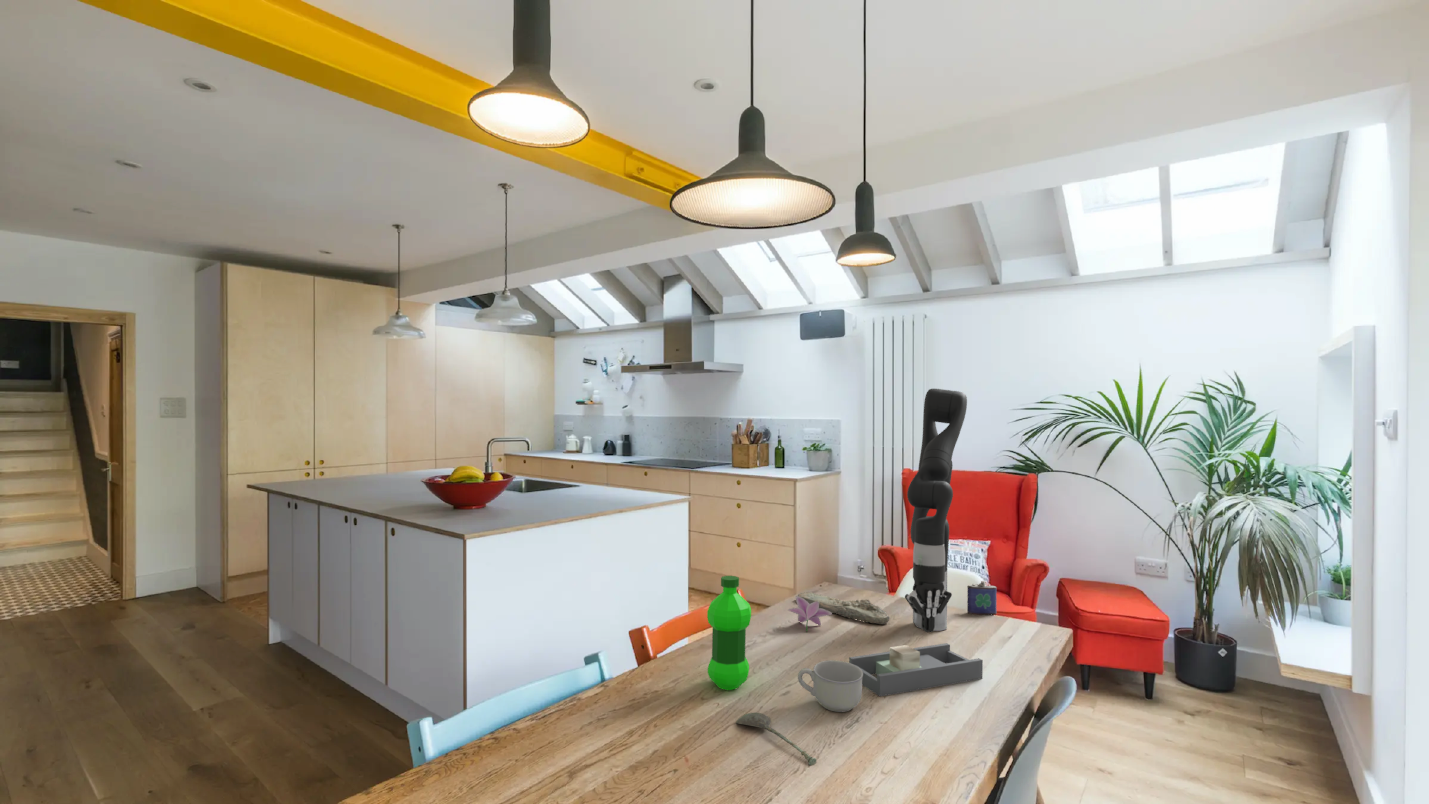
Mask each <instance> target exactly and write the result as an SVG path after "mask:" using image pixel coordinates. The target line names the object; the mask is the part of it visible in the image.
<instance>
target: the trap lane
mask: <svg viewBox="0 0 1429 804" xmlns="http://www.w3.org/2000/svg"><path fill="white" fill-rule="evenodd" d="M912 648H913V649H915V650H917V651H919V652H920V668H915V669H909V670H902V671H901V670H899V669H897V668H896V667H894V666H892V665H891V664H890V651H883V652H875V653H870V654H863V655H858V656H856V655H855V656H849V657H848V663H851V664H853V665H855V666H857V667H859V668H860V669H861V670H862V672H863V677H862V687H865V688H866V689H868V690H870V691H871V692H872V693H874V694H875V695H877V696H879V697H884V696H886V697H887V696H890V695H898V694H903V693H907V692H914V691H920V690H926V689H930V688H937V687H942V686H947V685H954V684H961V683H964V682H970V681H976V680H982V679H983V666H984V665H983V659H981V658H978V657H977V658H972V659H969V658H966V657H964V656H962V655H961V654H958V653H955V652H954V651H952V650H951V644H949V643H938V644H931V645H925V646H919V647H912ZM874 675H876V677H875V676H874Z"/></svg>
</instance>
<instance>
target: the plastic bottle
mask: <svg viewBox="0 0 1429 804" xmlns="http://www.w3.org/2000/svg"><path fill="white" fill-rule="evenodd" d="M720 586H721V587H723V588H722V589H723V590H722V592H721V593H720V594H718V595H717V596H716V597H715V598H714V599H713V600H712V601H711V602H710V603H709V606H708V609H707V611H706V613H707V616H706V617H707V622H708V624H709V625H710V626H711V627H712V634H711V635H712V643H711V645H712V647H711V649H712V650H711V658H710V661H709V662H708V667H707V675H708V677H709V679H710V681H711V682H713V683H714V684H715V685H716V686H717V688H719V689H720V690H724V689H725V691H734V690H737V689H738V688H739V687H740V686H742V685H743V684H744V683H745V682H746V681H747V678H748V676H749V674H750V673H749V671H750V664H749V661H748V659H747V656H746V641H747V640H746V637H747V636H746V635H747V633H746V630H747V627H749V626H750V623H751V618H752V607H751V604H750V603H749V602H748V601H747V600H746V599H745V598H744V597H743V596H742V595H741V594H739V593H738V592H737V588H738V587H739V586H740V578H739V576H736V575H724V576H721V577H720ZM733 689H734V690H733Z"/></svg>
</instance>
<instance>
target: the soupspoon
mask: <svg viewBox="0 0 1429 804" xmlns="http://www.w3.org/2000/svg"><path fill="white" fill-rule="evenodd" d="M771 723H772V721H771V717H769V715H767V714H765V713H763V712H749V713H746V714H743V715H742V716H740V717H739V718H738V719H737V720H736V721H735V724H738V725H739V724H740V725H746V726H751V727H756V728H761V729H765V730H767V731H768V732H771V733H773V734H774V735H775V736H777V737H778V738H780V739H781V740H783V741H784V742H786V743H787V744H789V745H790V746H792V747H793V748H794V749H795V750H797V751H798V752H799V753H800V754H801V756H803V757H804V759H805V760H806V761H807V763H808V766H812V765H815V764H816V763H817V761H818V760H817V758H816V757H812V756H811V755H809V754H808V753H807V752H806V751H805V750H803V749H802V748H800V747H799V746H798V745H797V744H796V743H794V742H793V741H792V740H790V739H789V738H788V737H786V736H785V735H783V734H781V732H779V731H777V730H776V729H774V728H772V726H771V727H770V725H771Z"/></svg>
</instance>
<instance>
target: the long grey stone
mask: <svg viewBox="0 0 1429 804" xmlns="http://www.w3.org/2000/svg"><path fill="white" fill-rule="evenodd" d="M804 593H805V592H800V593H798V594H797V596H799V597H801V598H803V599H805V600H806V601H807V602H808V603H809V604H811V603H813V602H816V601H819V608H822V609H825V610H827V611H830V612H831V613H836V614H835V615H837V614H840V615H839V616H842V617H844V618H845V617H850V618H852V619H851V620H855V619H857V620H856V621H858V620H861V621H864V622H866V623H868V622H870V624H876V625H878V624H879V625H884V624H887V623H888V622H889V621H890V619H891V618H890V616H889V614H888V613H887V611H885V610H884V609H883V608H881V607H880V606H879V605H875V604H874V603H872V602H871V601H870V599H856V600H842V599H838V598H835V597H830V596H826V595H822V594H818V593H815V592H811V591H807V592H806V593H805V594H804ZM864 622H863V623H864Z"/></svg>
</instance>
